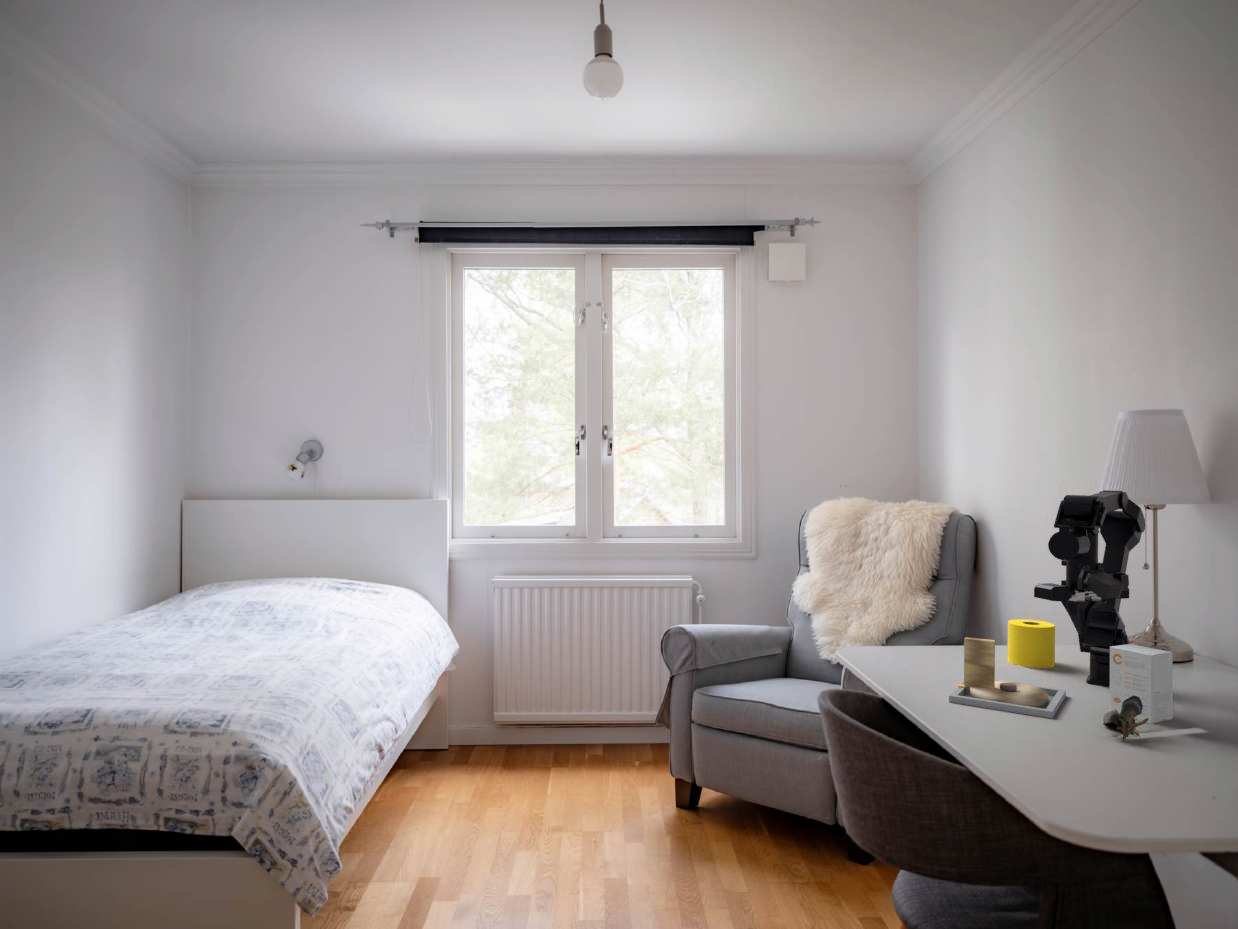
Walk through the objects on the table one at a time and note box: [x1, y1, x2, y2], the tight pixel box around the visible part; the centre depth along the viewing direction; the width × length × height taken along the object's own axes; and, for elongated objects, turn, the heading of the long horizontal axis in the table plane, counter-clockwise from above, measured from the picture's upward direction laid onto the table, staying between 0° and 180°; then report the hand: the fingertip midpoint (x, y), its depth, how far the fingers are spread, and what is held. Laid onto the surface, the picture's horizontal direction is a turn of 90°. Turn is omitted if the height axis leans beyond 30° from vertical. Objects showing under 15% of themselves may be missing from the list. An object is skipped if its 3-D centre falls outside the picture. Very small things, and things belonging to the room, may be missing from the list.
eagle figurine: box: [1102, 696, 1149, 742], centre depth 147 cm, size 8×7×9 cm
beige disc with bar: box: [963, 636, 1048, 708], centre depth 166 cm, size 15×14×11 cm
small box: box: [1109, 643, 1174, 724], centre depth 156 cm, size 8×6×13 cm
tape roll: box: [1007, 618, 1056, 669], centre depth 199 cm, size 10×10×9 cm
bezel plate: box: [948, 679, 1067, 720], centre depth 166 cm, size 18×18×2 cm
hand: (1081, 633), depth 172 cm, fingers closed
